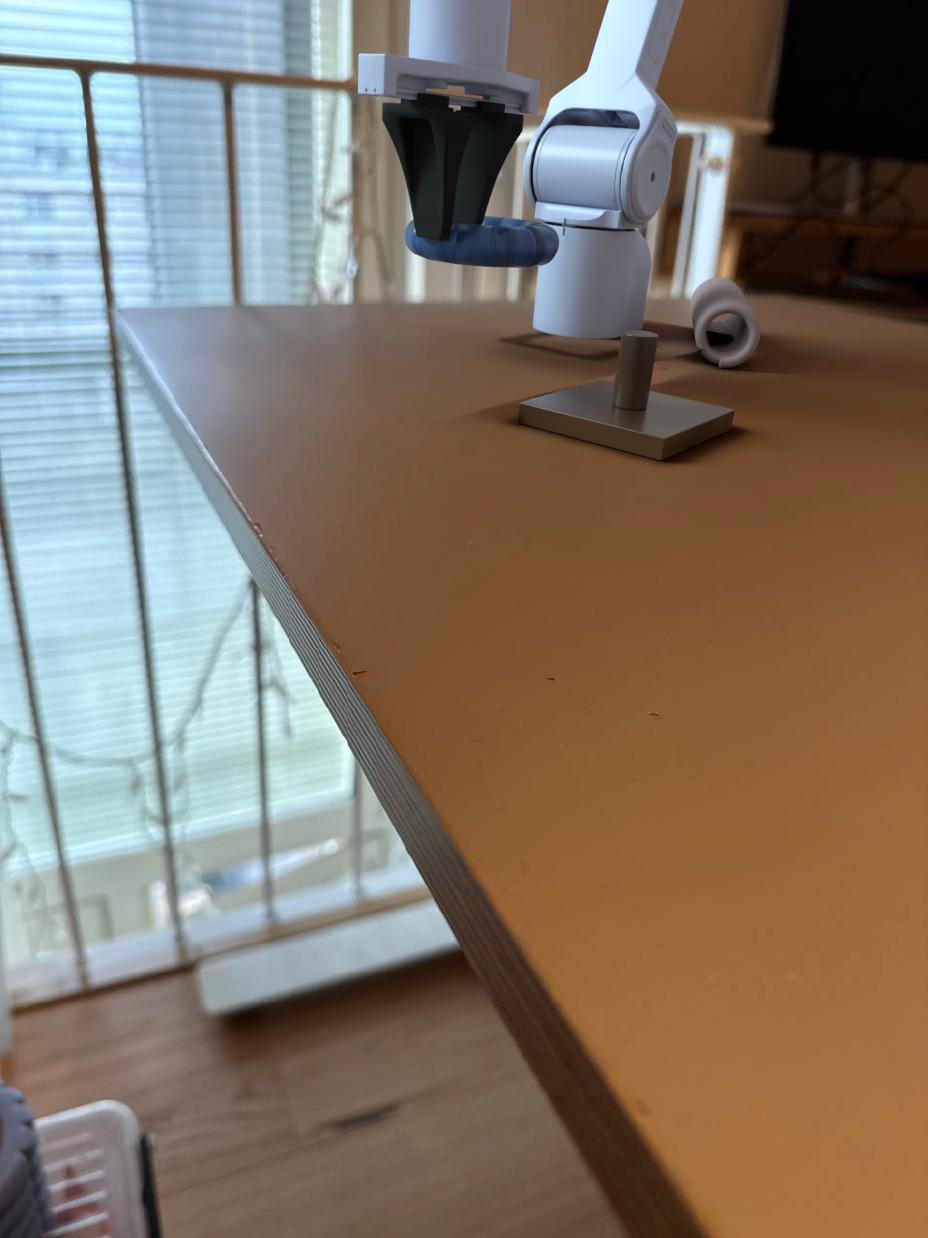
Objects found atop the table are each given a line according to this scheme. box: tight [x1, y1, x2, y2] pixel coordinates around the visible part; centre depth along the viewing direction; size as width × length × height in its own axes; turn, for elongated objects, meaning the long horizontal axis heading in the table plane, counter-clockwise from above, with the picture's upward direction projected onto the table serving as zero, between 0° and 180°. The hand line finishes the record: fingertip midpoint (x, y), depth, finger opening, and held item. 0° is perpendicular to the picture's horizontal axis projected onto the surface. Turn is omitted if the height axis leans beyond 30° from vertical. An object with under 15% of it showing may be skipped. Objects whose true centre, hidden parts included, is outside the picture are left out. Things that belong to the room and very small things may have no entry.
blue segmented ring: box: [404, 215, 559, 269], centre depth 61 cm, size 10×10×2 cm
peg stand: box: [517, 329, 736, 461], centre depth 52 cm, size 9×9×5 cm
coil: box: [689, 276, 761, 369], centre depth 77 cm, size 5×5×18 cm
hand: (447, 238), depth 58 cm, fingers closed on blue segmented ring, 2 cm apart
